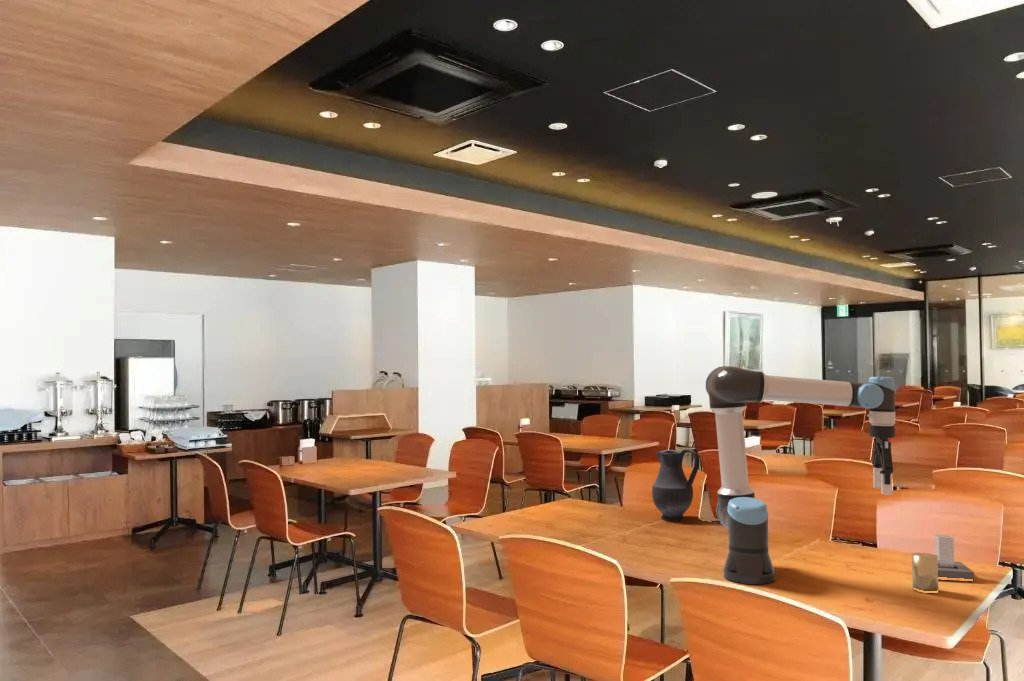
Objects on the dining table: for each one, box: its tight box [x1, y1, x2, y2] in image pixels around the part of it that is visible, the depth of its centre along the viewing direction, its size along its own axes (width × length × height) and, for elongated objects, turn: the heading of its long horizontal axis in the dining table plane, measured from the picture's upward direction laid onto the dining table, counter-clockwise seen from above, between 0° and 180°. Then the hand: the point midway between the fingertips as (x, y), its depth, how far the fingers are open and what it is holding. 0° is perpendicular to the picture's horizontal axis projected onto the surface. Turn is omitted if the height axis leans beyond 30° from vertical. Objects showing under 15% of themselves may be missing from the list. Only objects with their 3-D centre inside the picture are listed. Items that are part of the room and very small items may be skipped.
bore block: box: [938, 561, 975, 580], centre depth 229 cm, size 12×12×3 cm
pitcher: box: [651, 448, 700, 522], centre depth 319 cm, size 17×21×30 cm
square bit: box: [934, 534, 955, 569], centre depth 230 cm, size 4×4×12 cm
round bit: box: [911, 552, 940, 591], centre depth 215 cm, size 6×6×10 cm
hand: (882, 491), depth 240 cm, fingers open, 13 cm apart
